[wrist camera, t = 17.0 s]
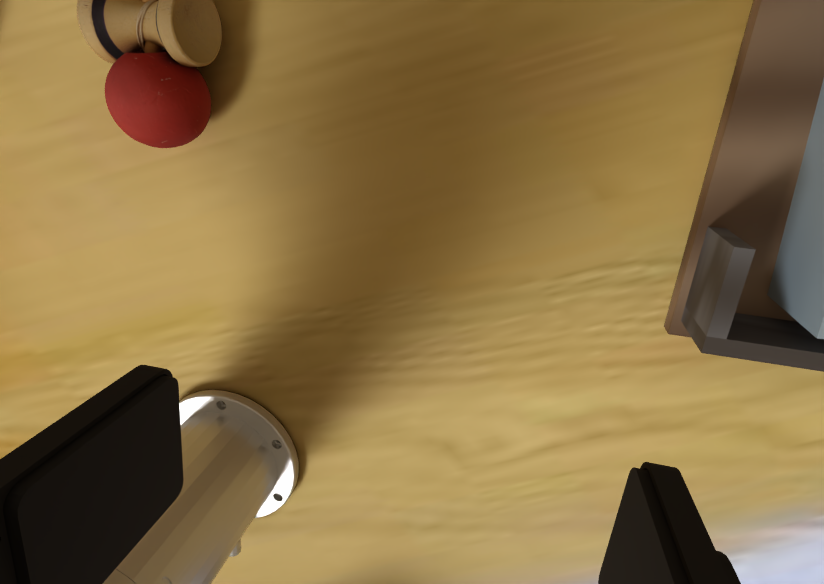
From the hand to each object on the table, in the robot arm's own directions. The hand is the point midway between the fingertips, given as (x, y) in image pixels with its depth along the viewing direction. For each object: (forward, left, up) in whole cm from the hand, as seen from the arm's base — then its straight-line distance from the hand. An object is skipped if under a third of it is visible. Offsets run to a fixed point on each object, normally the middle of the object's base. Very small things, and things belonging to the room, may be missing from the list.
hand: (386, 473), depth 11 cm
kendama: (+11, +21, -26) cm, 36 cm away
